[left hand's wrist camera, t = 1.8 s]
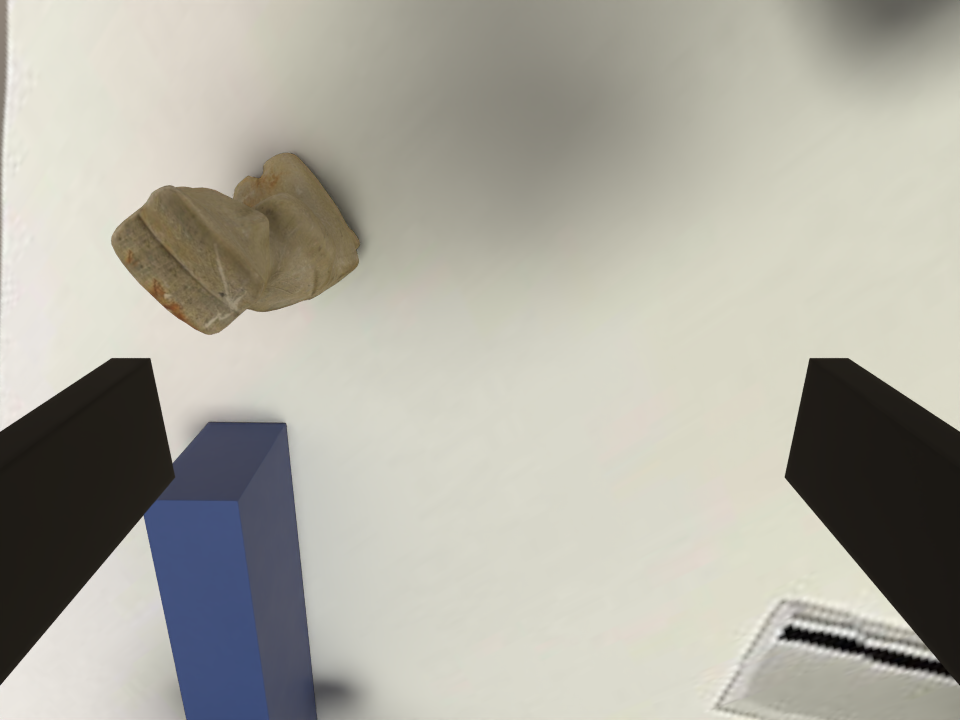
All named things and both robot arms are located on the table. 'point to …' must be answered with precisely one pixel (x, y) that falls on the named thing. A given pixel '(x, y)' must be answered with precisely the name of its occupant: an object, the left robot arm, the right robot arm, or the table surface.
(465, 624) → the table surface
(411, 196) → the table surface
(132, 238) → the sculpture
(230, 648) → the bar
